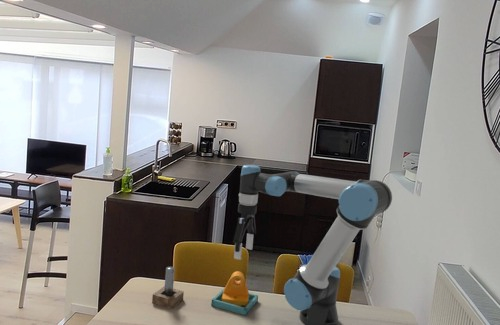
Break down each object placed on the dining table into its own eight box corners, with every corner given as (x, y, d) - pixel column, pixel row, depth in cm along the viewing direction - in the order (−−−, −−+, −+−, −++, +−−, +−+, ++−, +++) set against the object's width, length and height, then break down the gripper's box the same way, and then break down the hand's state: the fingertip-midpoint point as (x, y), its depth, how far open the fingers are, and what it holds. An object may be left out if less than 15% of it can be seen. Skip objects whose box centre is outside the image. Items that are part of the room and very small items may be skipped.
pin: (173, 300, 184) (176, 267, 182) (169, 303, 181) (172, 270, 179) (166, 298, 186) (168, 265, 183) (161, 301, 182) (164, 268, 180)
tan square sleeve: (183, 299, 186) (183, 291, 186) (171, 308, 178) (172, 300, 177) (163, 294, 189) (164, 286, 189) (152, 302, 181) (152, 294, 180)
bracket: (221, 304, 184) (223, 276, 182) (222, 296, 191) (225, 269, 189) (247, 307, 184) (250, 279, 182) (248, 299, 191) (251, 272, 189)
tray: (257, 301, 192) (258, 295, 191) (245, 315, 179) (246, 309, 178) (225, 292, 197) (225, 286, 196) (211, 305, 184) (211, 299, 183)
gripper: (249, 196, 196) (245, 243, 199) (227, 208, 173) (222, 261, 176) (266, 199, 194) (261, 246, 197) (245, 211, 171) (241, 265, 174)
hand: (243, 253), depth 187 cm, fingers open, 13 cm apart
